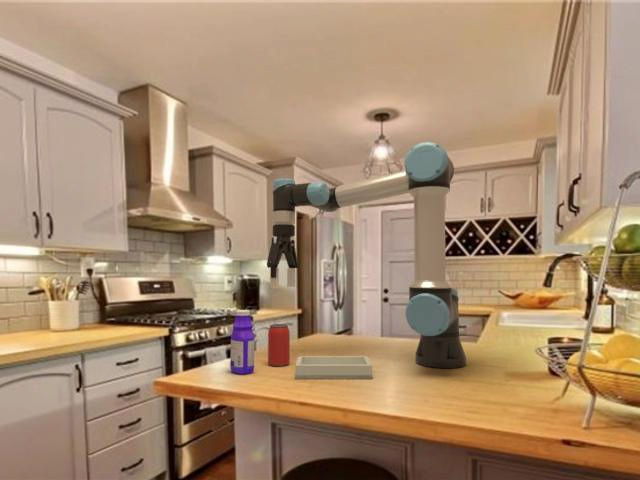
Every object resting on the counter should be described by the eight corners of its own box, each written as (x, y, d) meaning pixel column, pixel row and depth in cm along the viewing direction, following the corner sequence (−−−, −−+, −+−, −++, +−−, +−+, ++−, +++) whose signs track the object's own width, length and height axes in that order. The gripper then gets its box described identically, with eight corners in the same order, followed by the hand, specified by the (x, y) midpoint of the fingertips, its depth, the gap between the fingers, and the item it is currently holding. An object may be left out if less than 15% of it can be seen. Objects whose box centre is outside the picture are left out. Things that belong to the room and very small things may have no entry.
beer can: (276, 368, 121) (276, 327, 122) (263, 364, 126) (264, 325, 127) (293, 364, 126) (293, 325, 127) (281, 361, 131) (281, 323, 132)
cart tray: (367, 368, 120) (367, 356, 121) (372, 379, 108) (372, 365, 108) (298, 368, 121) (298, 356, 121) (295, 379, 109) (295, 365, 109)
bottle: (258, 372, 116) (258, 310, 118) (241, 376, 112) (242, 311, 113) (242, 368, 121) (243, 309, 122) (226, 372, 117) (227, 310, 118)
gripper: (288, 228, 152) (287, 286, 150) (256, 220, 129) (255, 288, 127) (307, 228, 150) (306, 286, 148) (278, 219, 126) (277, 289, 124)
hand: (283, 287), depth 137 cm, fingers open, 13 cm apart
